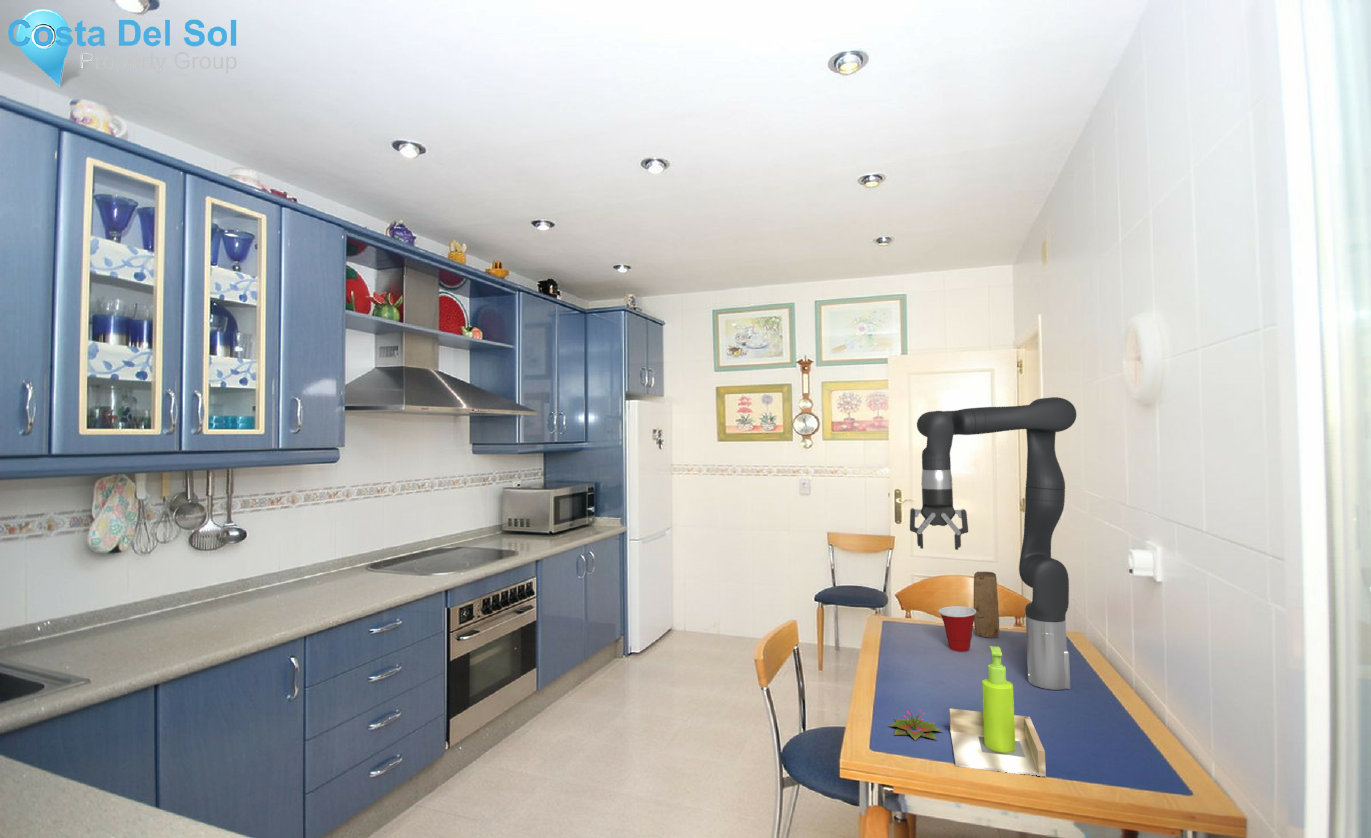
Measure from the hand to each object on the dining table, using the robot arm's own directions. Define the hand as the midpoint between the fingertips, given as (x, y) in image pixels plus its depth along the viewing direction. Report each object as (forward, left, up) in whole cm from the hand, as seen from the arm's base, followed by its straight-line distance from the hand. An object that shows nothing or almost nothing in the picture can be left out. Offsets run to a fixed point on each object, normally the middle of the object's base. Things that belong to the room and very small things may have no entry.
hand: (939, 548), depth 170 cm
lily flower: (+8, +27, -37) cm, 46 cm away
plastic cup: (-6, -34, -36) cm, 50 cm away
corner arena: (-8, +34, -36) cm, 50 cm away
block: (-16, -52, -36) cm, 65 cm away
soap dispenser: (-9, +32, -36) cm, 48 cm away
